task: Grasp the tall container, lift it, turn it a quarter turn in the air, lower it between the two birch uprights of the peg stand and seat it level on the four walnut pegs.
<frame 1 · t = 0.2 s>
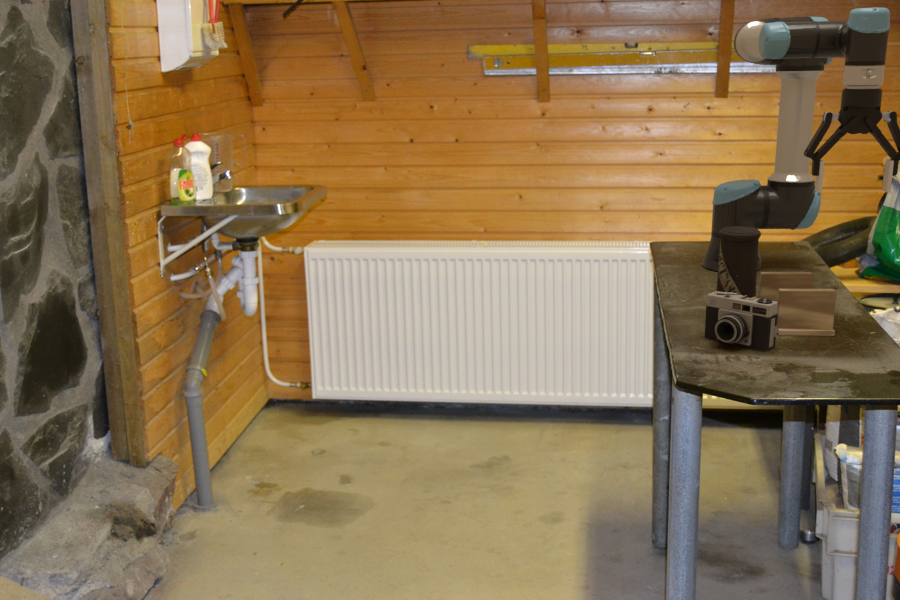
hand: (852, 191, 187), 28 cm above the table, fingers open, 13 cm apart
container: (734, 317, 197), on the table
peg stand: (793, 321, 192), on the table
camera: (733, 345, 178), on the table
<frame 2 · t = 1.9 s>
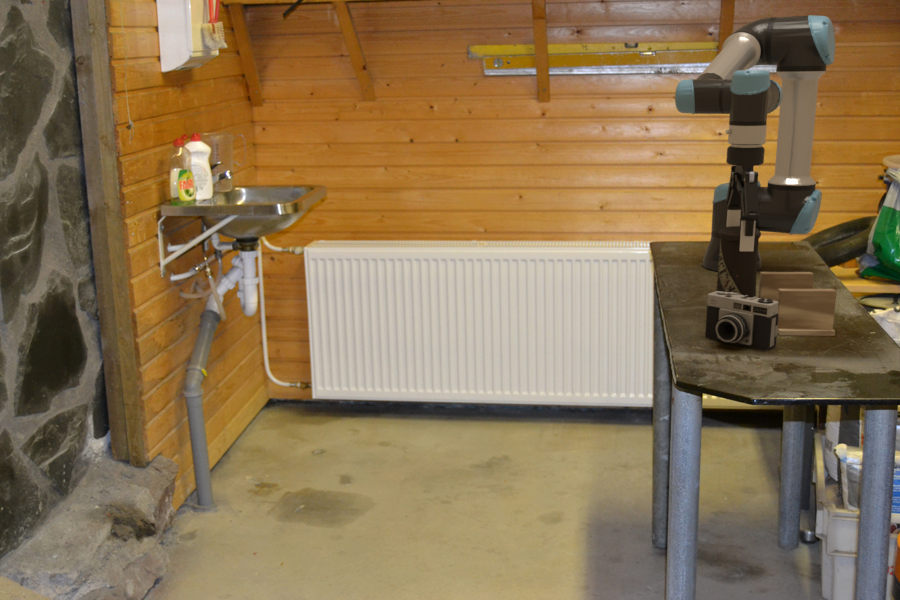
hand: (739, 245, 192), 16 cm above the table, fingers open, 13 cm apart
nothing on the table moved.
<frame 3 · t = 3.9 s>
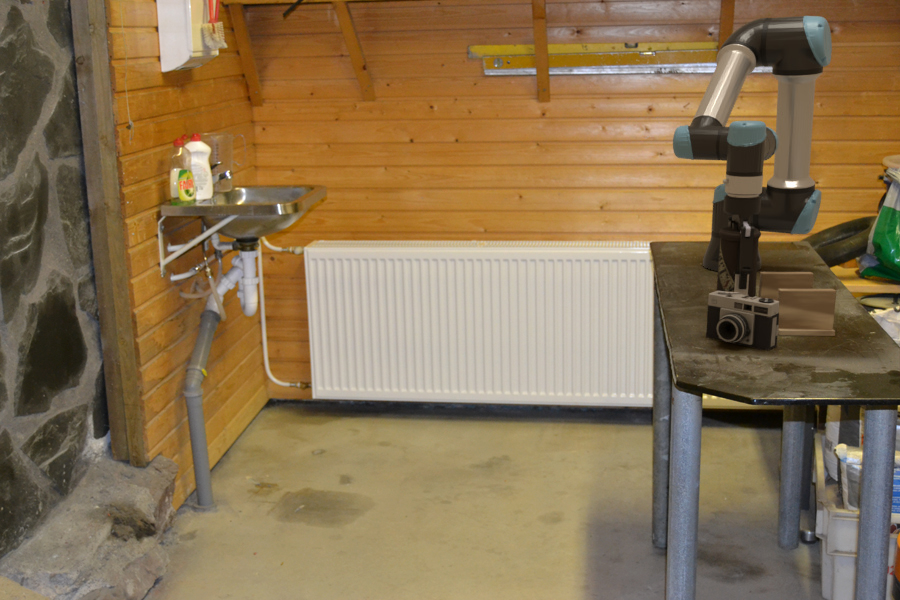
hand: (735, 297, 196), 4 cm above the table, fingers closed on container, 8 cm apart
container: (734, 317, 197), on the table, touching gripper
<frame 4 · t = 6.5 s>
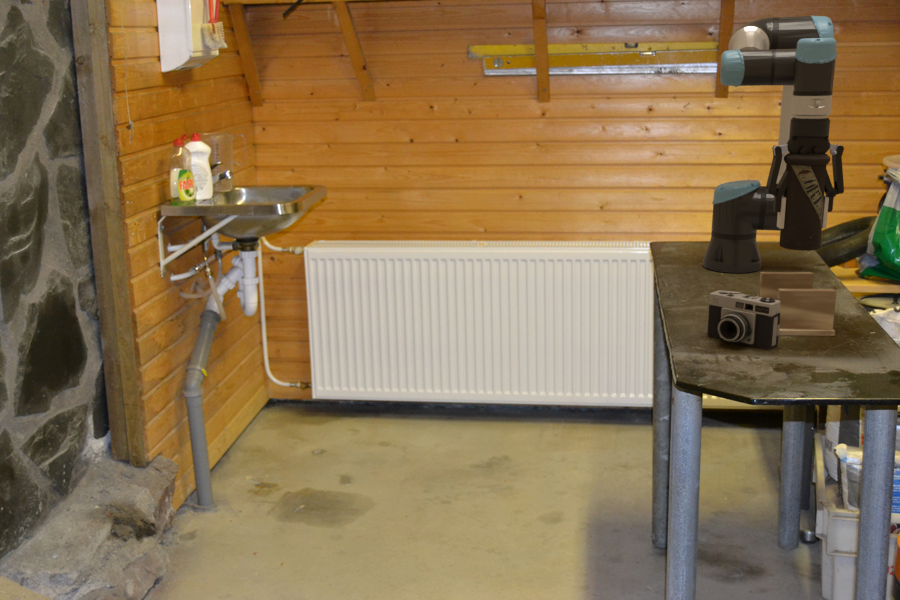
hand: (801, 227, 187), 21 cm above the table, fingers closed on container, 8 cm apart
container: (799, 248, 188), point 16 cm above the table, touching gripper
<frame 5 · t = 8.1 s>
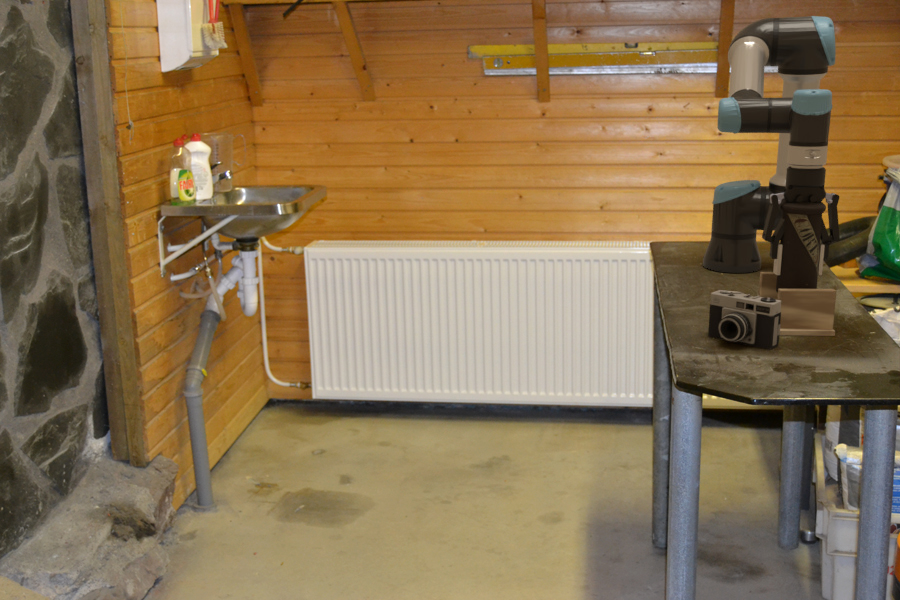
hand: (797, 273, 189), 11 cm above the table, fingers closed on container, 8 cm apart
container: (795, 293, 190), point 6 cm above the table, touching gripper
when the fingers open (9 cm above the table, at t = 9.3 s): container drops 1 cm, resting on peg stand.
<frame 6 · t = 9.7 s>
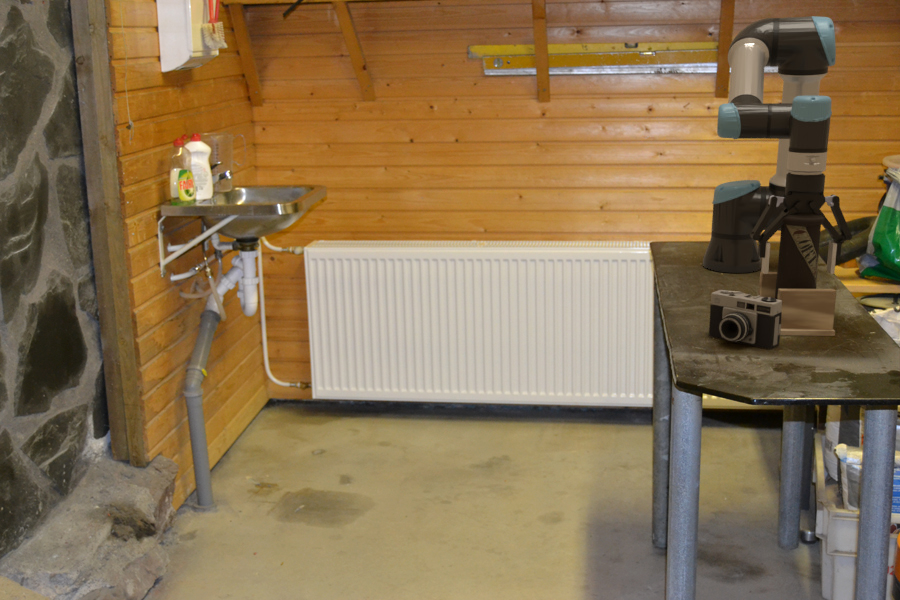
hand: (797, 272, 189), 11 cm above the table, fingers open, 13 cm apart
container: (794, 304, 191), point 4 cm above the table, touching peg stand
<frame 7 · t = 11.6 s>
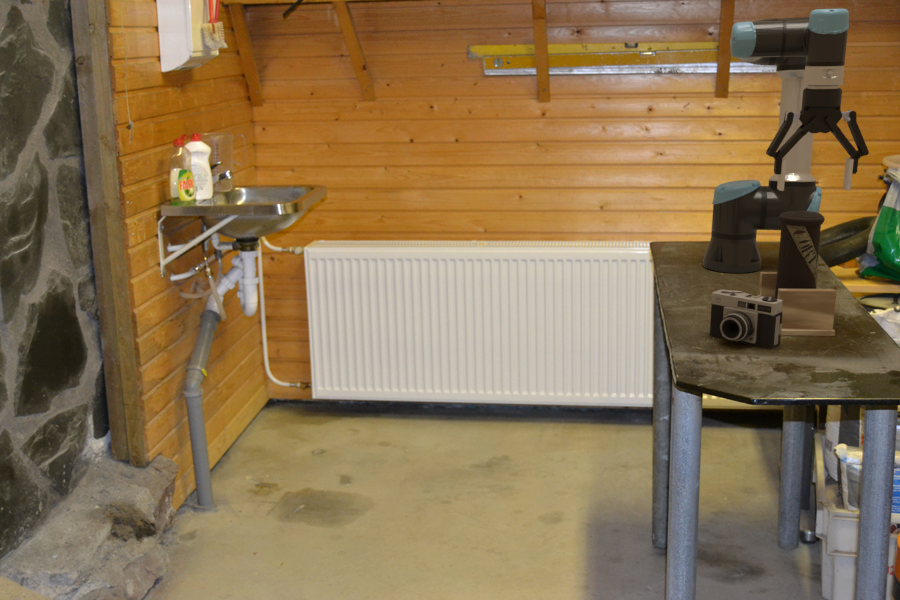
hand: (813, 189, 189), 28 cm above the table, fingers open, 13 cm apart
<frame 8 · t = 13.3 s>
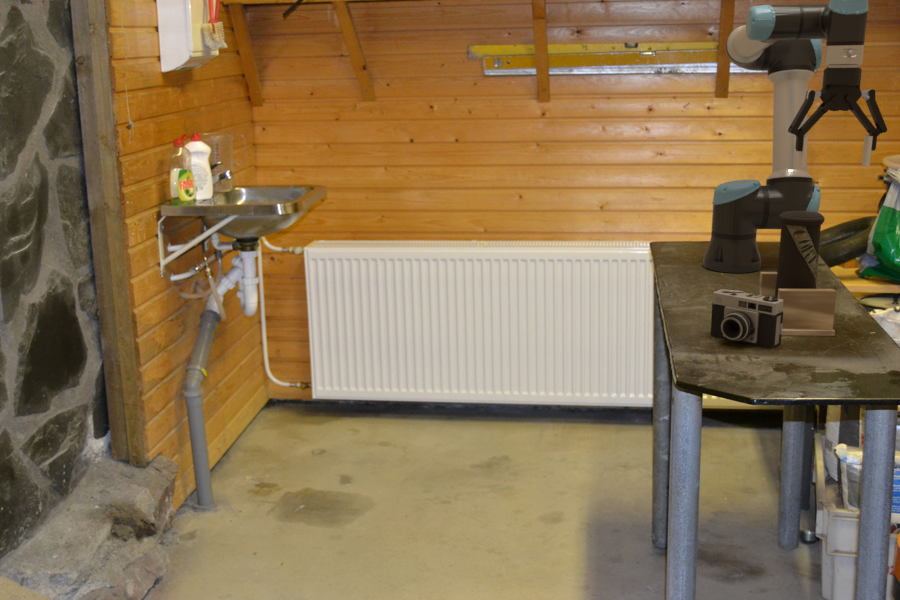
hand: (833, 166, 196), 32 cm above the table, fingers open, 13 cm apart
at the end: container 0.1 cm off-centre on the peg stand, point 3.8 cm above the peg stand's base; container tilted 0°; the gripper is holding nothing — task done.
